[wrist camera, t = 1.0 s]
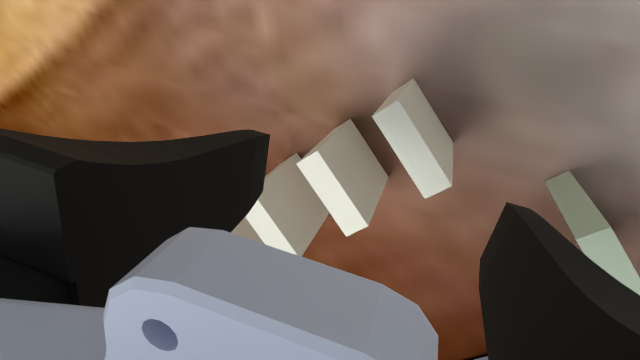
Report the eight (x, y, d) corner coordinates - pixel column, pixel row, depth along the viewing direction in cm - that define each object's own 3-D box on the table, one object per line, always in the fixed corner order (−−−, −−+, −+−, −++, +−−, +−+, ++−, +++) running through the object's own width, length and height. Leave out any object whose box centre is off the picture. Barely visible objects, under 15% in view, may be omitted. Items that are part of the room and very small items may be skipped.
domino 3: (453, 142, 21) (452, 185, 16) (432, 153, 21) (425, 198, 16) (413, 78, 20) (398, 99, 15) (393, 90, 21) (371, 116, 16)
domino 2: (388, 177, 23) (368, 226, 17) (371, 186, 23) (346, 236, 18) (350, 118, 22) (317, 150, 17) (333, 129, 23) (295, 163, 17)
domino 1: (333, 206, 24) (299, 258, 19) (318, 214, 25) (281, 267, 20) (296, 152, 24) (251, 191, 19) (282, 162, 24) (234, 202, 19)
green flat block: (605, 234, 20) (659, 311, 15) (580, 243, 21) (623, 321, 15) (569, 170, 20) (611, 227, 14) (544, 181, 20) (575, 239, 15)
